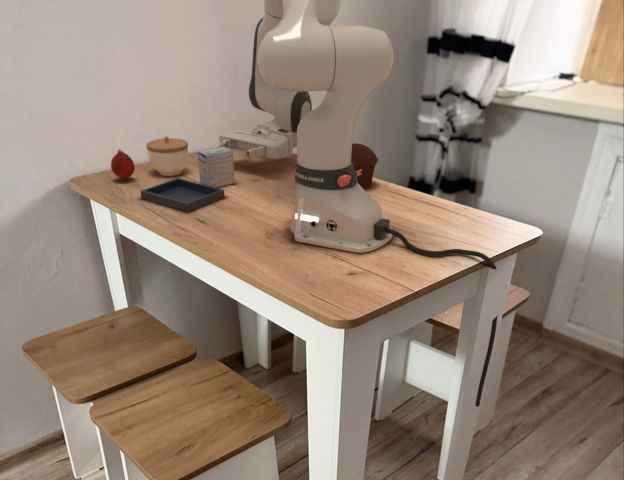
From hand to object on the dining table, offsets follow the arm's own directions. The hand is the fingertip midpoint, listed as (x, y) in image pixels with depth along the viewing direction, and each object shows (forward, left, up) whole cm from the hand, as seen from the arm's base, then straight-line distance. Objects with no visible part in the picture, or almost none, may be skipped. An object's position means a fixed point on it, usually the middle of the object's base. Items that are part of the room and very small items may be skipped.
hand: (234, 150), depth 155 cm
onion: (+22, +19, -7) cm, 30 cm away
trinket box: (+17, +7, -7) cm, 20 cm away
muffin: (-28, -14, -7) cm, 32 cm away
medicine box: (0, +7, -7) cm, 10 cm away
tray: (0, +20, -7) cm, 21 cm away
